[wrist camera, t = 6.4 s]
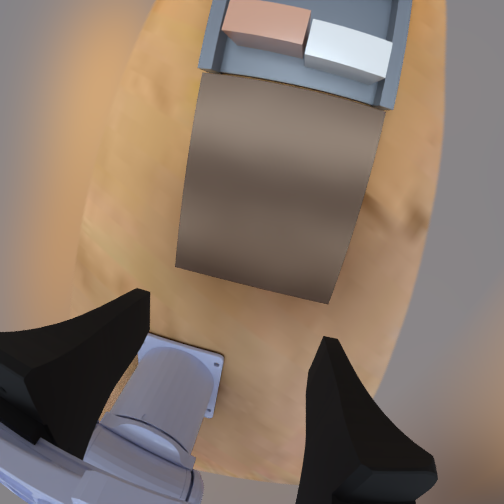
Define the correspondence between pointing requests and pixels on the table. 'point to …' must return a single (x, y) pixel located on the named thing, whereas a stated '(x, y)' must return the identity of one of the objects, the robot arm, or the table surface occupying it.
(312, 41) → the tile cream
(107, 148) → the table surface
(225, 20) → the tile terracotta
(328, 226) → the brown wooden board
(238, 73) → the tray
